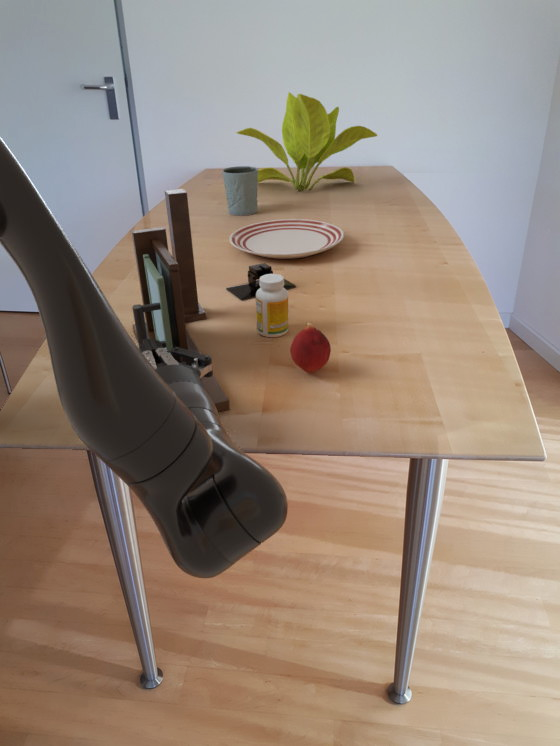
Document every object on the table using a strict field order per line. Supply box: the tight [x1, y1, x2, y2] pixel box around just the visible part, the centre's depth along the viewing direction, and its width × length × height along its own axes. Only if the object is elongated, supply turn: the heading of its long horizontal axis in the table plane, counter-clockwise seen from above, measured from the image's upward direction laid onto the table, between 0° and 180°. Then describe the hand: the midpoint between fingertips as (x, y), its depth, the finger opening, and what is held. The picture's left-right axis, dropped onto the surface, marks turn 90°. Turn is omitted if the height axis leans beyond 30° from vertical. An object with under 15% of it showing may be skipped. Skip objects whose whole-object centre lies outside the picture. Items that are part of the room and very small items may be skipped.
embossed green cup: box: [221, 165, 259, 217], centre depth 158 cm, size 10×10×12 cm
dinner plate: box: [229, 218, 345, 260], centre depth 131 cm, size 28×27×3 cm
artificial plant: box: [236, 91, 378, 192], centre depth 181 cm, size 42×43×30 cm
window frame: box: [130, 226, 231, 413], centre depth 79 cm, size 8×29×18 cm, turn 22°
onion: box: [289, 322, 332, 374], centre depth 79 cm, size 6×6×8 cm
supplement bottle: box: [255, 273, 289, 338], centre depth 91 cm, size 5×5×10 cm
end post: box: [164, 188, 207, 324], centre depth 93 cm, size 5×5×22 cm
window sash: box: [131, 254, 173, 351], centre depth 80 cm, size 4×11×14 cm, turn 22°
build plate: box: [225, 262, 297, 301], centre depth 109 cm, size 12×7×5 cm, turn 121°
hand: (148, 344), depth 72 cm, fingers closed
